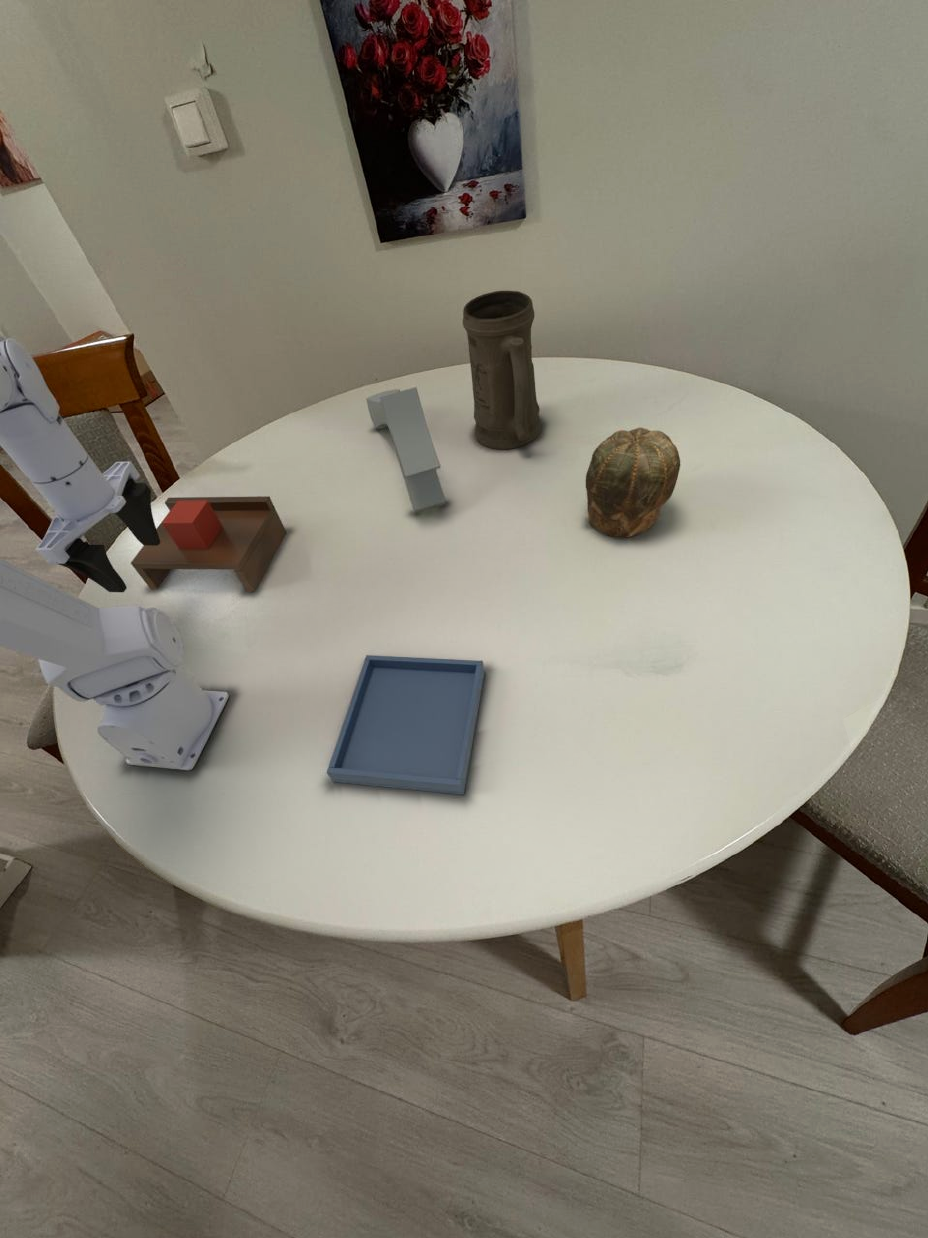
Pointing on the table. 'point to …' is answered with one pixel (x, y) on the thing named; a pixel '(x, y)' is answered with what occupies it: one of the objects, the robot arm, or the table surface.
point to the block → (192, 524)
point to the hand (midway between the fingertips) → (135, 566)
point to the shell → (630, 481)
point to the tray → (410, 724)
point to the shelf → (220, 542)
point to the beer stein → (502, 368)
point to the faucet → (410, 444)
